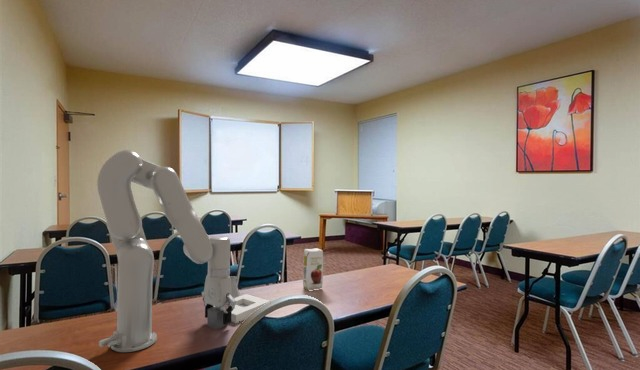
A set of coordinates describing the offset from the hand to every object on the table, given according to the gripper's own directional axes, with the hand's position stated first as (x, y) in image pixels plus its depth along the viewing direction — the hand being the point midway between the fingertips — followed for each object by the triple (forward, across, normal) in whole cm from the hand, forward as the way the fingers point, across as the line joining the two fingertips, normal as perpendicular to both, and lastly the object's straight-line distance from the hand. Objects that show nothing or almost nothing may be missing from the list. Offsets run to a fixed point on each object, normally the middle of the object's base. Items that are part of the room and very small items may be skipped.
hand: (217, 319), depth 120 cm
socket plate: (+2, -3, +14) cm, 14 cm away
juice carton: (+2, +3, +54) cm, 54 cm away
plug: (+2, 0, 0) cm, 2 cm away
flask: (+2, -15, +20) cm, 25 cm away
